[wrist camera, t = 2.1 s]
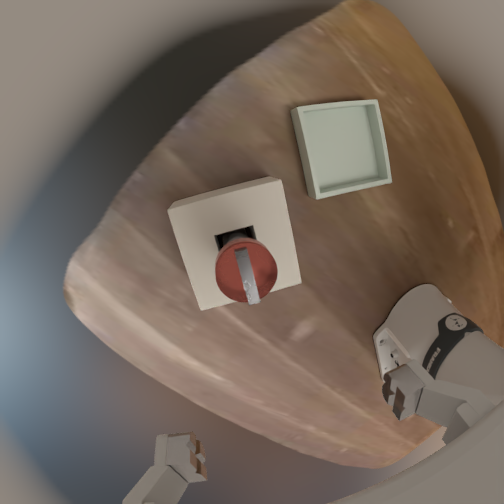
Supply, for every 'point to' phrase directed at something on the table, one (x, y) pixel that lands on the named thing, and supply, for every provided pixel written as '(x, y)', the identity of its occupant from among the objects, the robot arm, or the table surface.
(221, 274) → the red disc rod
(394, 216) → the table surface
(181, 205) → the block
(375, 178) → the tray
